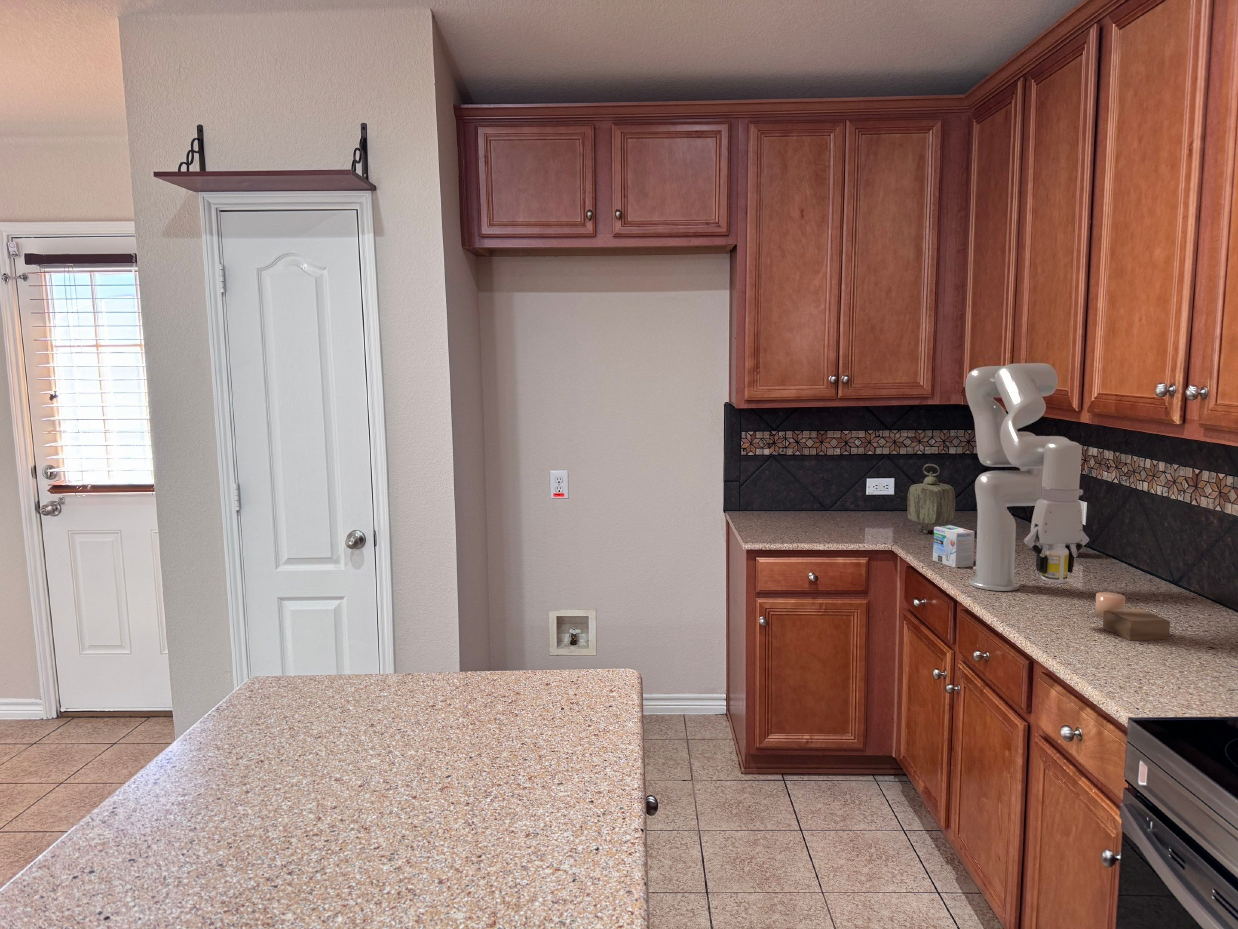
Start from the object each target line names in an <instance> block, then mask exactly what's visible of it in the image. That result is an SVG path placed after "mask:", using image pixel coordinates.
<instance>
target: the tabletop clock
mask: <svg viewBox="0 0 1238 929" xmlns="http://www.w3.org/2000/svg"><path fill="white" fill-rule="evenodd" d="M926 467H934V468H937V471H938V472H937V473H934V472H933V471H930V472H929V473H928V472H927V471H925V468H926ZM922 472H923V474H924V475H926V477H925V478H924V480H923V483H916V484H912V485H910V486H909V488H908V493H907V500H906V504H907V506H906V509H907V510H906V511H907V512H906V513H907V518H908V519H910V520H911V521H912V522H914V523H917V524H920V525H919V527H918V528H919V530H922V532H923V534H926V535H927V534H929V531H928V526H939V527H940V526H945V524H949V523H953V520H954V517H955V513H956V512H955V511H956V495H955V494H956V493H955V490H954V487H952V486H951V485H950V484H945V483H941V482H939V480H938V478H937V477H936V476H938V475H939V474H940V472H941V471H940V468H939V466H938V465H936V464H933V463H927V464H925V465H924V466H923V467H922Z"/></svg>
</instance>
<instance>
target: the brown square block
mask: <svg viewBox="0 0 1238 929" xmlns="http://www.w3.org/2000/svg"><path fill="white" fill-rule="evenodd" d="M1102 619H1103V620H1102V628H1103V629H1105V630H1107V631H1109V632H1111V633H1113V634H1115V635H1118V636H1119V637H1121V638H1123V639H1126V640H1128V641H1147V640H1149V641H1151V640H1169V639H1170V627H1171V621H1170V620H1168V619H1166V618H1163V617H1162V616H1159V615H1156V614H1154V613H1151V612H1149V611H1147V610H1144V609H1141V608H1131V609H1127V608H1125V609H1124V610H1107V611H1104V615H1103V618H1102Z"/></svg>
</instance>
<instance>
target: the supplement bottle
mask: <svg viewBox="0 0 1238 929" xmlns="http://www.w3.org/2000/svg"><path fill="white" fill-rule="evenodd" d="M1065 545H1066V544H1055V545H1050V546H1049V548H1048V551H1047V553H1046V557H1048V565H1047V573H1046V574H1043V573H1041V572H1040V573H1041V574H1040V578H1041V579H1042V580H1044V581H1046V582H1052V583H1065V582H1067V580H1068V573H1069V572H1068V558H1069V551H1068V549H1067V548H1065Z"/></svg>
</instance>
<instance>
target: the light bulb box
mask: <svg viewBox="0 0 1238 929" xmlns="http://www.w3.org/2000/svg"><path fill="white" fill-rule="evenodd" d="M932 548H933V549H932V550H933V551H932V561H934V562H937V563H940V564H943V565H945V566H949V567H952V568H954V567H960V568H969V566H970V567H974V555H975V554H974V552H975V531H974V530H969V529H966V528H963V527H959V526H954V525H944V526H940V525H939V526H934V527H933V547H932Z"/></svg>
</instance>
